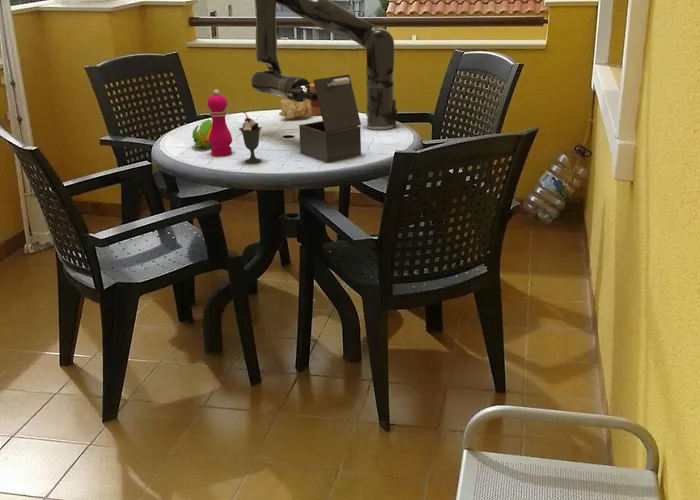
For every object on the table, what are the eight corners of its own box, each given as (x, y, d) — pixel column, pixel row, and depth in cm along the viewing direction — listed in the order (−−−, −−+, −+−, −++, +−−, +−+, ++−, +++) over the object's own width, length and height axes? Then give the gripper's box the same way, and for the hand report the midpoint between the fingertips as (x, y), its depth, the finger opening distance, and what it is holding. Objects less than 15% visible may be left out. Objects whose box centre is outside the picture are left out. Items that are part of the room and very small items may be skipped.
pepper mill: (228, 156, 250) (223, 92, 243) (206, 156, 252) (200, 91, 244) (236, 150, 257) (231, 87, 249) (214, 150, 258) (209, 87, 251)
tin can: (325, 111, 251) (324, 82, 248) (330, 115, 247) (329, 85, 243) (308, 113, 250) (307, 84, 246) (313, 116, 245) (312, 87, 242)
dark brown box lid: (313, 80, 237) (323, 75, 232) (347, 74, 244) (358, 70, 239) (325, 132, 238) (335, 128, 233) (359, 125, 245) (370, 122, 240)
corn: (189, 127, 255) (199, 113, 273) (189, 151, 257) (199, 135, 276) (212, 128, 255) (221, 114, 273) (213, 152, 258) (221, 136, 276)
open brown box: (300, 153, 252) (299, 125, 249) (333, 146, 259) (332, 118, 256) (327, 162, 241) (326, 133, 238) (361, 155, 248) (360, 126, 245)
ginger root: (267, 117, 295) (269, 94, 294) (286, 118, 310) (288, 97, 308) (306, 121, 290) (308, 98, 288) (324, 122, 304) (326, 100, 303)
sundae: (242, 158, 248) (238, 110, 242) (264, 157, 248) (260, 109, 243) (241, 164, 242) (237, 114, 236) (263, 163, 242) (260, 113, 236)
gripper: (313, 97, 262) (343, 105, 249) (274, 103, 254) (304, 111, 242) (312, 73, 259) (342, 80, 246) (273, 79, 252) (303, 86, 239)
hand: (323, 96), depth 244 cm, fingers closed on tin can, 5 cm apart
